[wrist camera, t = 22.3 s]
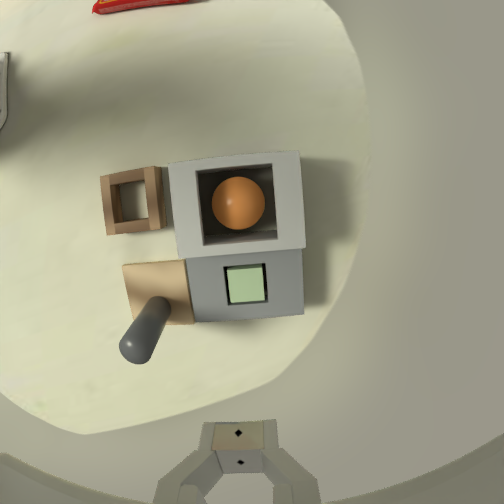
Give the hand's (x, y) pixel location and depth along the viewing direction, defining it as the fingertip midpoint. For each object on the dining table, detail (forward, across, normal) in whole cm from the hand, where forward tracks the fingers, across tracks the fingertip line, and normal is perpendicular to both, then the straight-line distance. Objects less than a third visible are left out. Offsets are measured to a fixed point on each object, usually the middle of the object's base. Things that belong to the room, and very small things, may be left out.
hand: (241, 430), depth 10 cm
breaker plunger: (+23, 0, -7) cm, 24 cm away
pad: (+24, +11, +2) cm, 26 cm away
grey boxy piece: (+24, 0, -3) cm, 24 cm away
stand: (+24, +12, -9) cm, 28 cm away
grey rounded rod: (+23, +12, +4) cm, 26 cm away
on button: (+23, 0, +1) cm, 23 cm away
